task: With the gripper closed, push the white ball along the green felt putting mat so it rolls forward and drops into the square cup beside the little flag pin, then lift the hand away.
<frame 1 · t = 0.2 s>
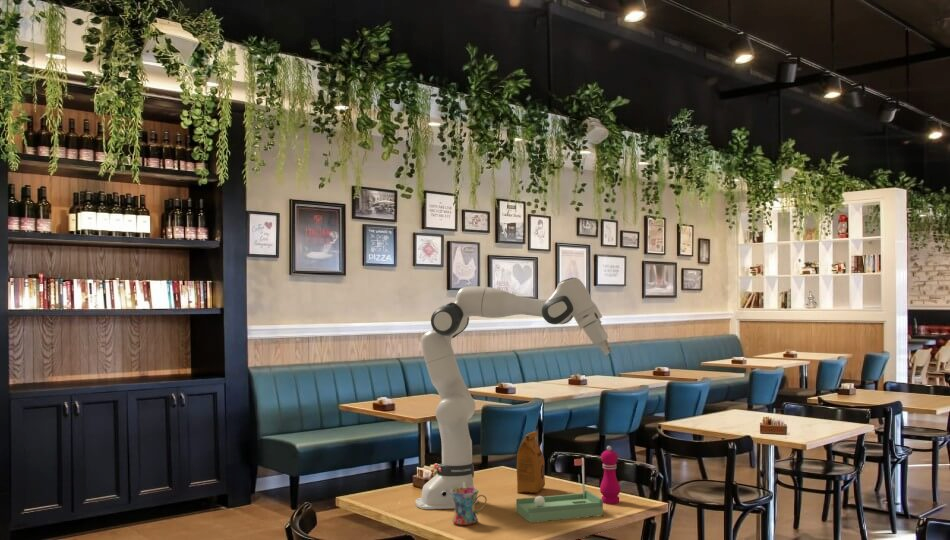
hand: (608, 353, 285), 54 cm above the table, tool tilted 30°, fingers open, 8 cm apart
mug: (469, 523, 269), on the table
pepper mill: (610, 502, 292), on the table
ball: (539, 501, 276), point 5 cm above the table, touching green
green: (559, 513, 278), on the table
coffee package: (531, 491, 312), on the table
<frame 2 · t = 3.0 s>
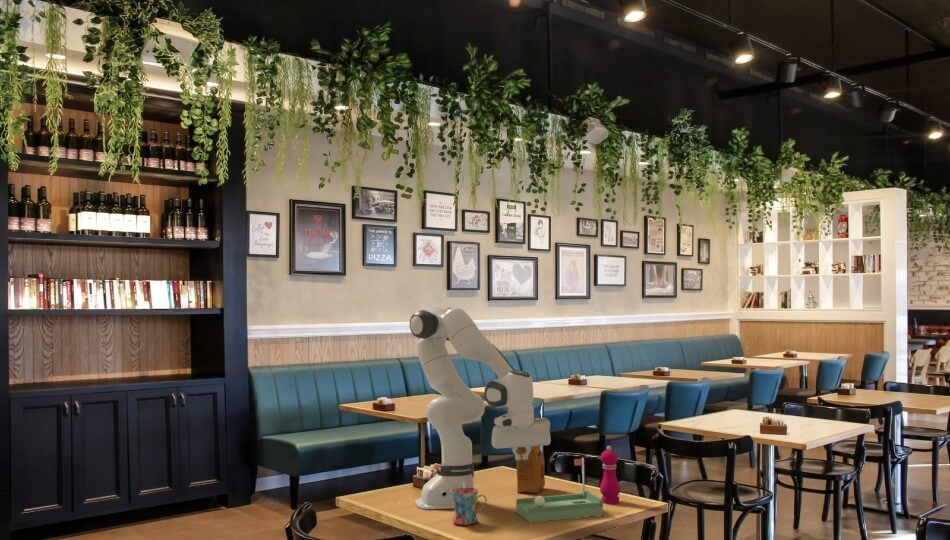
hand: (521, 460, 275), 19 cm above the table, tool pointing down, fingers closed
nothing on the table moved.
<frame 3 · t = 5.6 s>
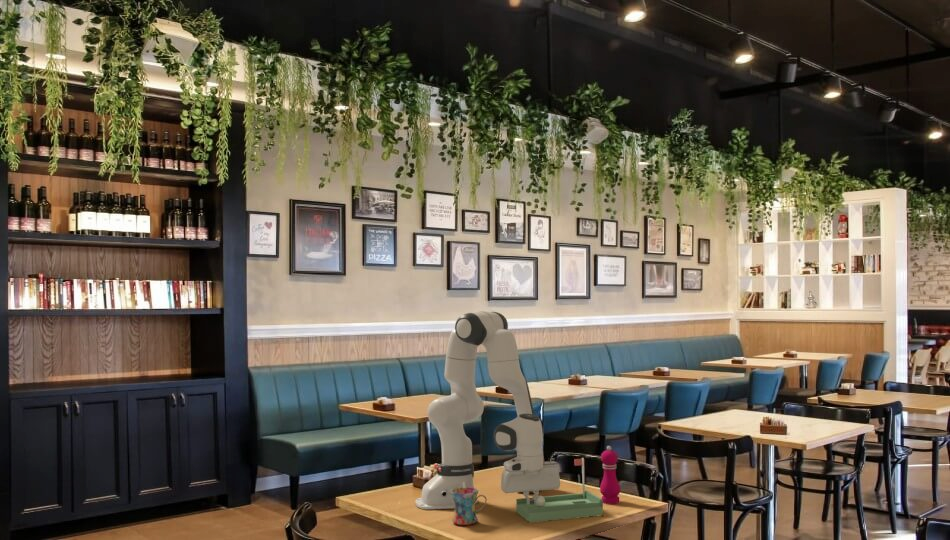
hand: (531, 504, 275), 4 cm above the table, tool pointing down, fingers closed
ball: (539, 501, 276), point 5 cm above the table, touching green, gripper
everything else where it was.
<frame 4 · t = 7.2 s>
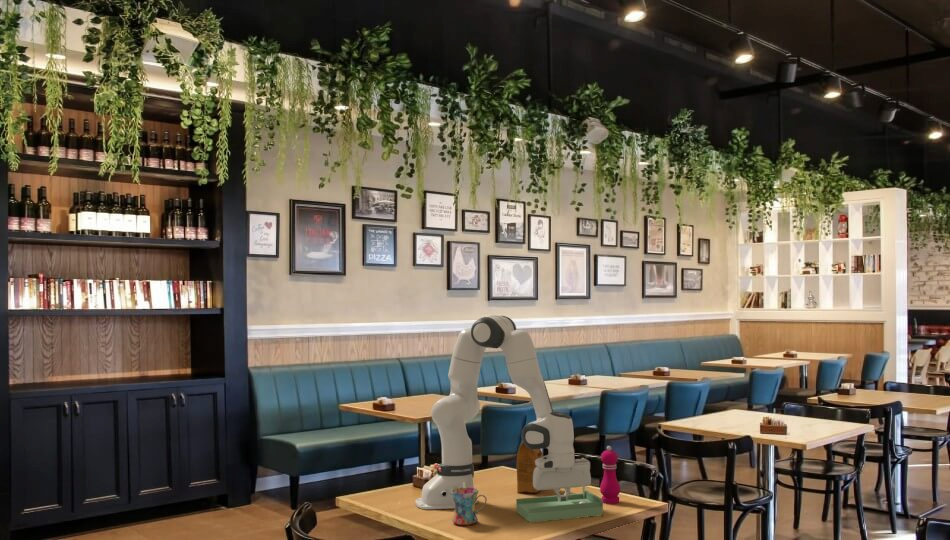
hand: (562, 501, 278), 4 cm above the table, tool pointing down, fingers closed
ball: (583, 506, 280), point 2 cm above the table, tilted 172°
everything else where it was.
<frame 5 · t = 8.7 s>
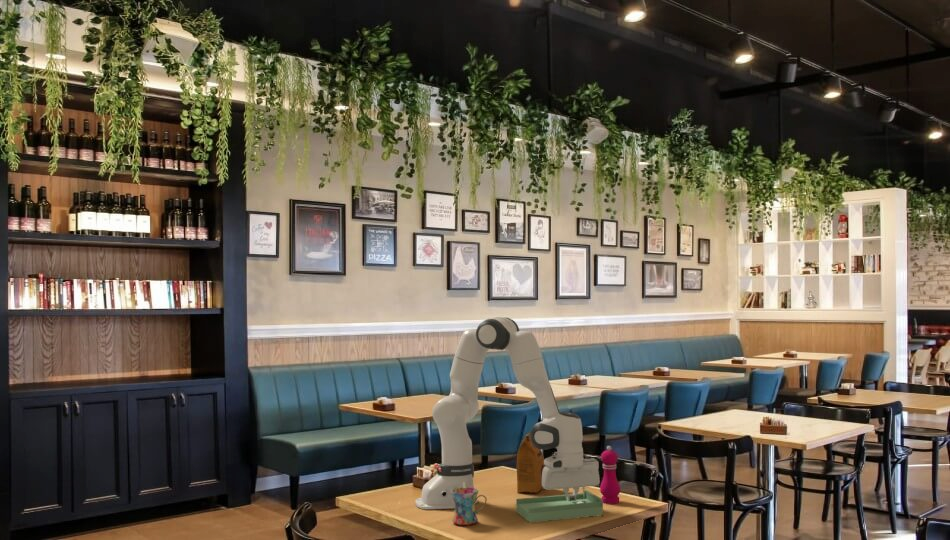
hand: (571, 500, 279), 4 cm above the table, tool pointing down, fingers closed
ball: (580, 506, 280), point 2 cm above the table, tilted 146°
everything else where it was.
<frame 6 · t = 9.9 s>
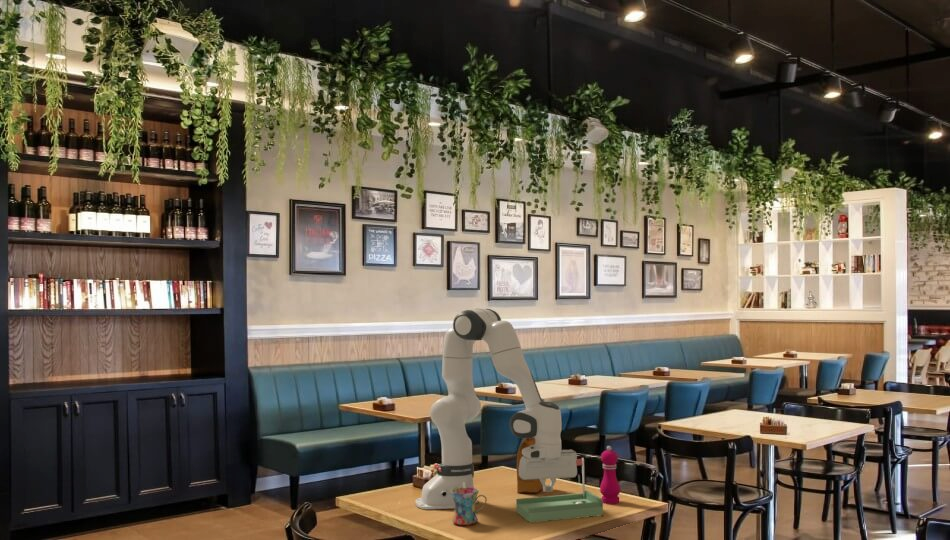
hand: (547, 491, 278), 8 cm above the table, tool pointing down, fingers closed
ball: (579, 506, 280), point 2 cm above the table, tilted 130°
everything else where it was.
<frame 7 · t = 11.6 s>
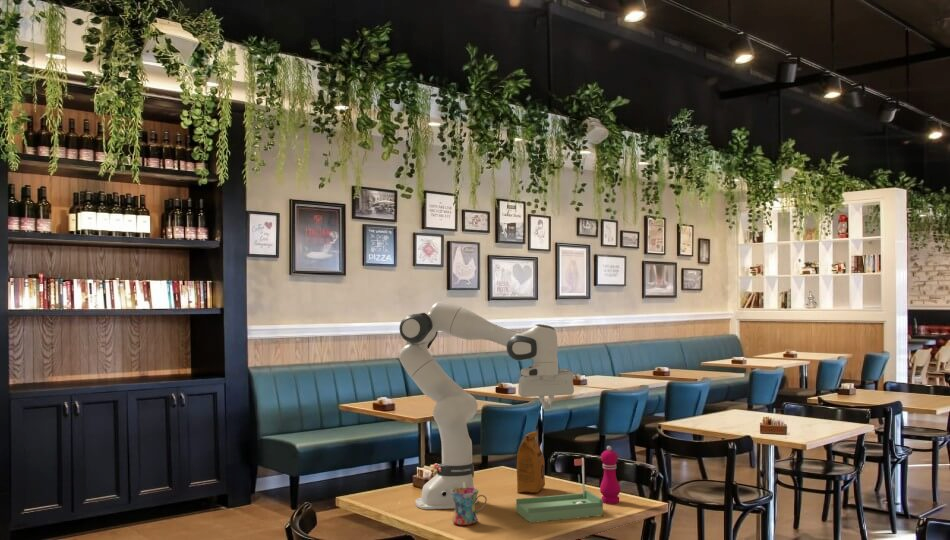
hand: (546, 408, 292), 34 cm above the table, tool pointing down, fingers closed
nothing on the table moved.
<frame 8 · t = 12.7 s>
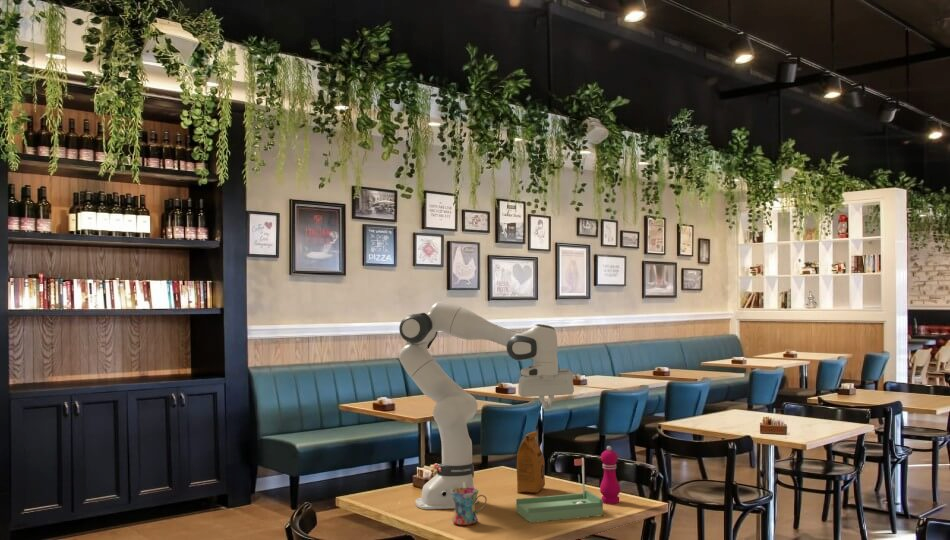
hand: (546, 408, 292), 34 cm above the table, tool pointing down, fingers closed
nothing on the table moved.
at the end: ball 0.6 cm from the target spot on the green, point 1.8 cm above the green's base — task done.
